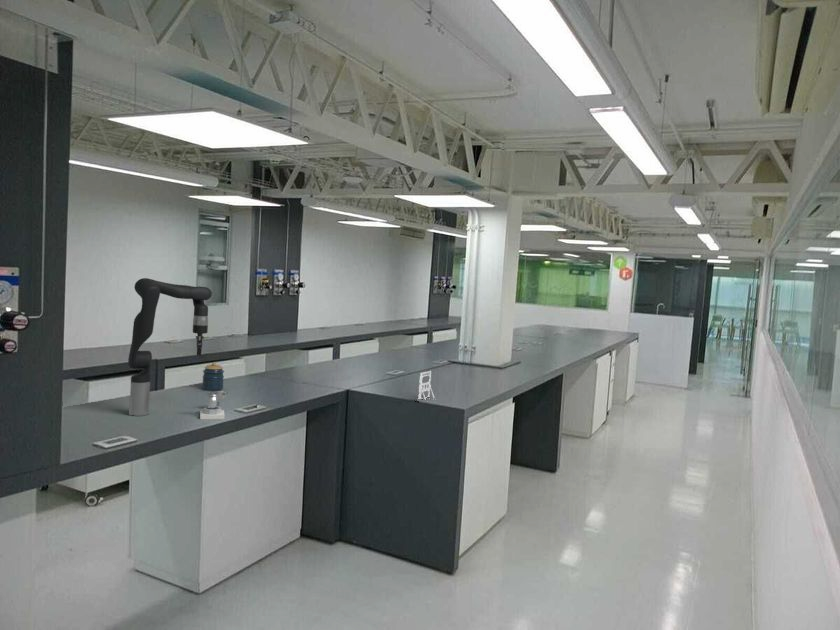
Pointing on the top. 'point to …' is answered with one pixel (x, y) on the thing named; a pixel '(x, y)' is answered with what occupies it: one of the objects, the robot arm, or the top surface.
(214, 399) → the clear glass jar
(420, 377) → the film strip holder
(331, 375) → the top surface
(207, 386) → the canister
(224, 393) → the mechanical component
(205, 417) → the flange plate
